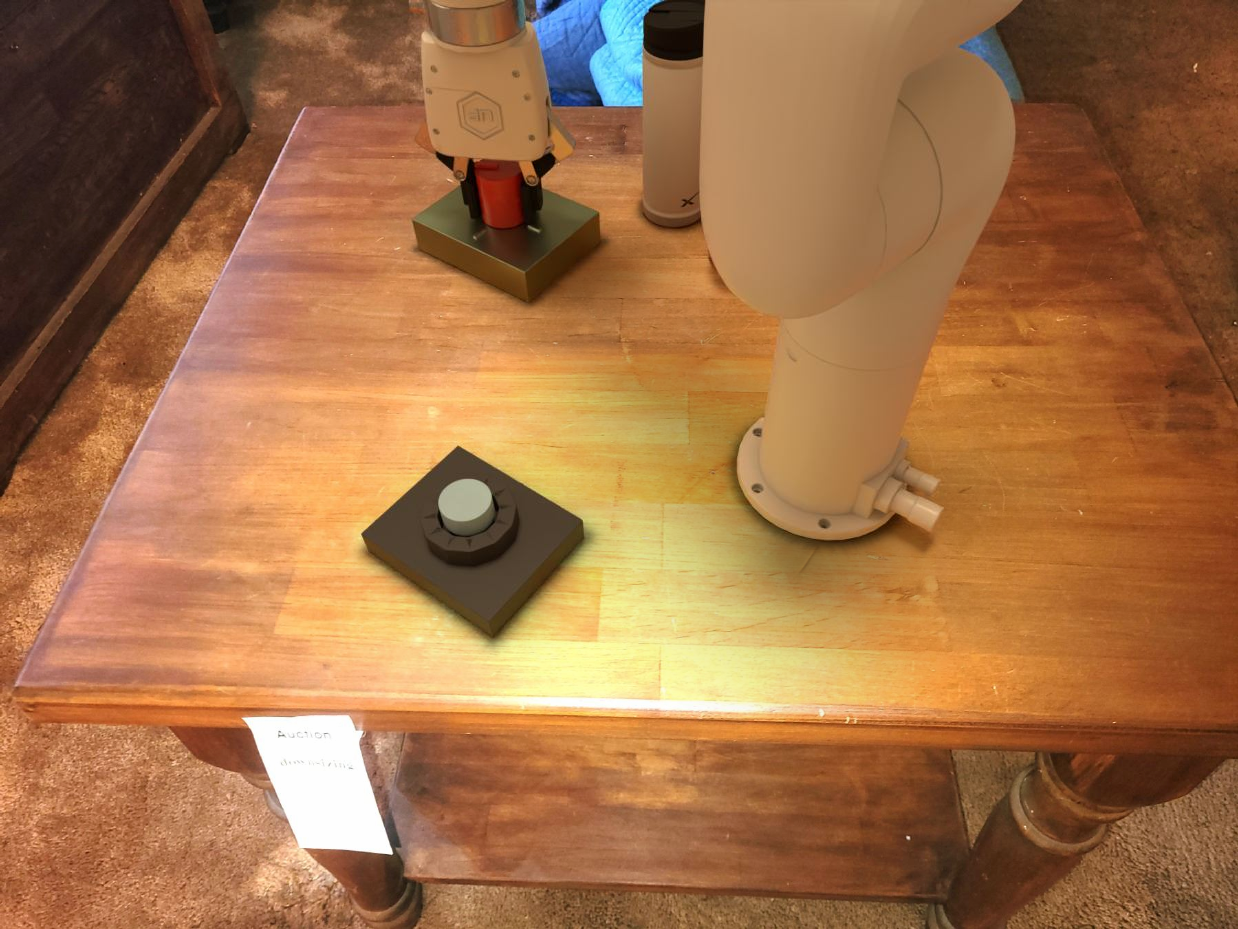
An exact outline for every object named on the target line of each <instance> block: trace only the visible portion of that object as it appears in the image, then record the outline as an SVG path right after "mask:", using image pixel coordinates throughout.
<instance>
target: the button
mask: <svg viewBox="0 0 1238 929" xmlns="http://www.w3.org/2000/svg"><path fill="white" fill-rule="evenodd" d="M438 505H439V509H440V513H441V516H442V519H443V523H444V525H445V527H446V528H447V529H448V530H449V531H450V532H452V533H454V534H456V535H460V536H471V535H475V534H478V533H480V532H482V531H484V530H485V529H486V528H488V527H489V526H490V524H491V523H492V521H493V519H494V516H495V508H494V504H493V499H492V495H491V491H490V489H489V488H488V487H487V486H486V485H485V484H484V483H482V482H481V481H478V480H474V479H462V480H458V481H455V482H453V483H451V484H450V485H448V486H447V487H446V488H445V489H444V490H443V491H442V493H441V494H440V497H439V501H438Z"/></svg>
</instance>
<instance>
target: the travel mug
mask: <svg viewBox="0 0 1238 929" xmlns="http://www.w3.org/2000/svg"><path fill="white" fill-rule="evenodd" d="M647 10H648V11H647V12H646V13H645V14H644V15H643V19H642V33H643V36H642V44H641V45H642V49H641V50H642V59H641V60H642V61H641V62H642V66H641V67H642V72H641V73H642V74H641V75H642V77H641V78H642V80H641V81H642V82H641V84H642V212H643V214H644V216H645V217H646V218H647V219H648V220H649V221H651V222H652V223H654V224H656V225H659V226H661V227H667V228H680V227H687V226H689V225H693V224H694V223H696V222H697V221H699V220H701V210H700V192H699V172H700V136H701V104H702V73H703V41H704V15H705V0H661V1H658V2H656V3H654V4H653V5H651V6H650V7H649V8H648V9H647Z"/></svg>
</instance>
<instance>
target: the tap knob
mask: <svg viewBox="0 0 1238 929" xmlns="http://www.w3.org/2000/svg"><path fill="white" fill-rule="evenodd" d="M474 162H475V164H474V166H475V168H474V172H475V178H476V184H477V190H478V196H479V201H480V207H481V213H482V218H483V220H484V222H485V223H486V224H488V225H489V226H492V227H495V228H511V227H515V226H517V225H519V224H521V223H523V222H524V215H523V207H522V199H521V191H520V186H521V183H522V181H523V174H522V171H521V169H520V166H519V163H518V161H504V160H489V159H479V160H476V161H474Z"/></svg>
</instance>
